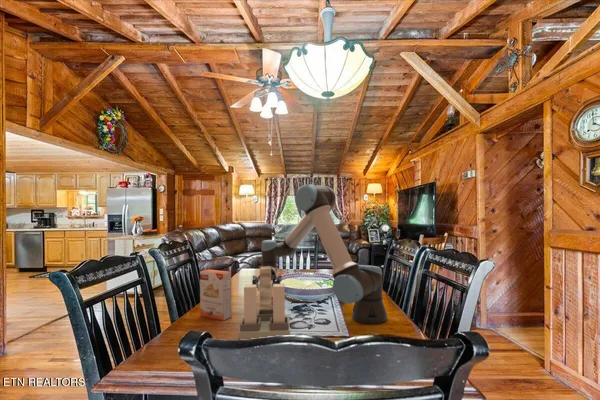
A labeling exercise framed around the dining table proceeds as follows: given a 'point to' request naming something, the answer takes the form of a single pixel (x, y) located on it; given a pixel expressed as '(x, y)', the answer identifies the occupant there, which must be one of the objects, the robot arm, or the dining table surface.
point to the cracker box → (215, 294)
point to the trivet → (299, 300)
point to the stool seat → (264, 315)
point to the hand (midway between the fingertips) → (264, 287)
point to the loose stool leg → (265, 287)
